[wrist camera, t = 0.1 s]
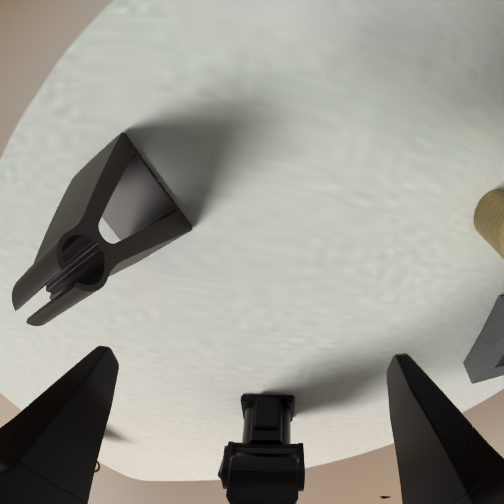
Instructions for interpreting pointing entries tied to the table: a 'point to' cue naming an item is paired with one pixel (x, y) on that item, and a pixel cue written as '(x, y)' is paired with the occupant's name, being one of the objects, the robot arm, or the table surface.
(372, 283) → the table surface
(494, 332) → the jig block
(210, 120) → the table surface
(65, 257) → the phone stand
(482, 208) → the brass sleeve
